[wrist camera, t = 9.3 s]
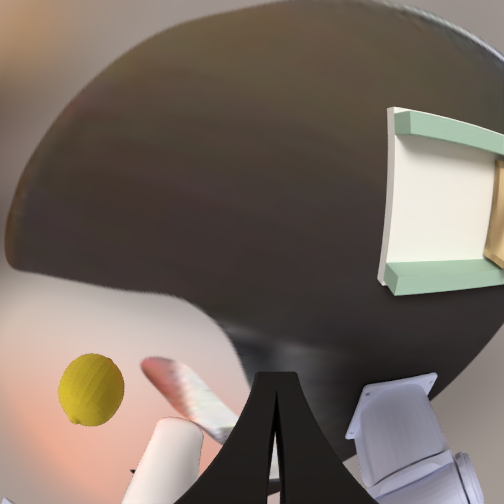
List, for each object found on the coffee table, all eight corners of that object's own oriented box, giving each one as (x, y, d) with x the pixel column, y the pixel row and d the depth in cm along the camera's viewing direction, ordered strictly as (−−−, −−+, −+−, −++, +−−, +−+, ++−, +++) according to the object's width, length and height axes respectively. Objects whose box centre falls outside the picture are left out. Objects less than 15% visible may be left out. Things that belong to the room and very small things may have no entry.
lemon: (94, 326, 21) (45, 387, 13) (145, 363, 22) (110, 433, 14) (80, 356, 22) (42, 410, 15) (125, 387, 23) (95, 448, 16)
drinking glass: (151, 431, 26) (117, 533, 13) (151, 403, 24) (106, 526, 10) (206, 447, 27) (185, 553, 13) (215, 421, 24) (191, 552, 10)
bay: (517, 268, 16) (536, 282, 13) (377, 278, 17) (393, 301, 15) (533, 149, 12) (556, 154, 9) (387, 108, 13) (409, 103, 11)
